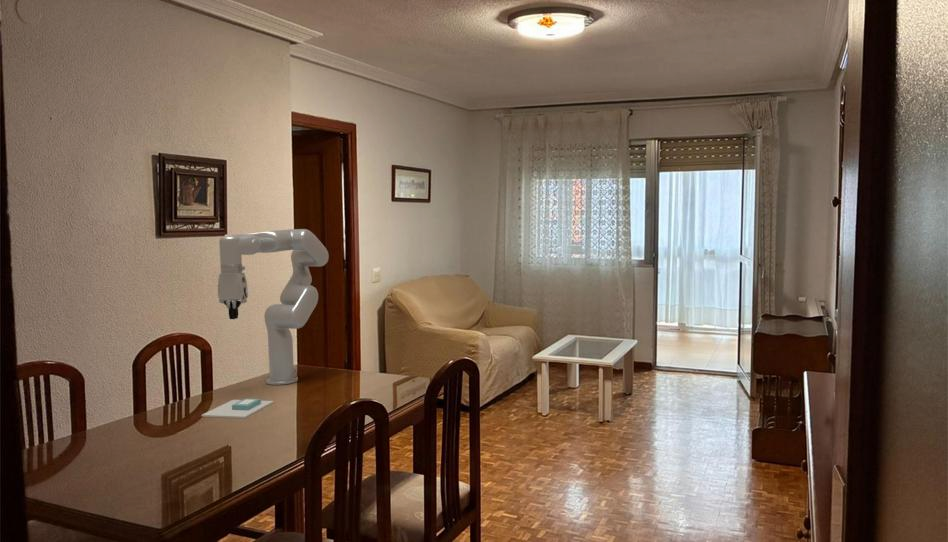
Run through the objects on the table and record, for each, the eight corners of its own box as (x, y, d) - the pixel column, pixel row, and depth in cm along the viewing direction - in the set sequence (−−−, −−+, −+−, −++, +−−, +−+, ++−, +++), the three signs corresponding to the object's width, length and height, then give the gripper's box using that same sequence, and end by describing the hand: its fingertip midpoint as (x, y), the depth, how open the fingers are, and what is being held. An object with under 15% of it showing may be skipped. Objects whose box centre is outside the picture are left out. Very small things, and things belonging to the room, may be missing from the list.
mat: (233, 401, 256) (233, 399, 256) (273, 402, 253) (273, 401, 253) (201, 416, 237) (201, 414, 237) (244, 418, 234) (244, 416, 234)
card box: (245, 398, 251) (260, 398, 250) (245, 402, 251) (261, 403, 250) (231, 404, 242) (247, 405, 241) (232, 409, 243) (248, 410, 241)
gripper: (255, 268, 263) (257, 317, 265) (218, 268, 267) (221, 317, 268) (244, 270, 256) (246, 320, 258) (207, 270, 259) (209, 320, 261)
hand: (233, 318), depth 263 cm, fingers closed
